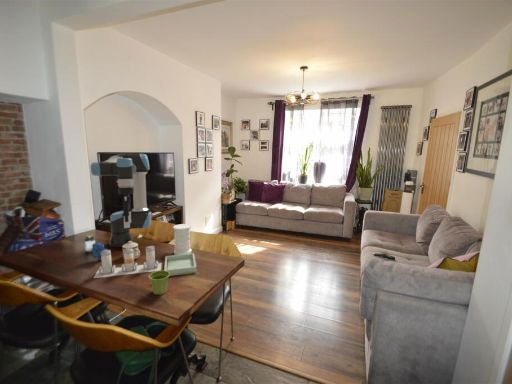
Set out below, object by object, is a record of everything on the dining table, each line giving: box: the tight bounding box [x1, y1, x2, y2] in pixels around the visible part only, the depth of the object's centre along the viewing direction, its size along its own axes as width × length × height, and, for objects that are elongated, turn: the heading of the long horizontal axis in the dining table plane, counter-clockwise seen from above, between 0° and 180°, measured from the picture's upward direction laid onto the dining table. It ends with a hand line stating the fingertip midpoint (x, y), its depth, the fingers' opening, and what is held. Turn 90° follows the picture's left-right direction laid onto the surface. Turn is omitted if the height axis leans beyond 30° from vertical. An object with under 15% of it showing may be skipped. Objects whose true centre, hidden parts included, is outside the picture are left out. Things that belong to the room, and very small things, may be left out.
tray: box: [163, 252, 198, 277], centre depth 150 cm, size 20×17×3 cm
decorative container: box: [173, 223, 193, 255], centre depth 170 cm, size 12×12×18 cm
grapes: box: [91, 241, 108, 261], centre depth 154 cm, size 12×7×12 cm, turn 71°
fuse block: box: [93, 245, 163, 279], centre depth 141 cm, size 10×33×14 cm, turn 107°
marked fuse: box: [123, 248, 135, 272], centre depth 141 cm, size 5×5×12 cm
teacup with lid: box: [121, 241, 141, 260], centre depth 158 cm, size 12×9×12 cm
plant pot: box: [148, 270, 170, 295], centre depth 123 cm, size 9×9×9 cm
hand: (127, 225), depth 141 cm, fingers open, 13 cm apart
